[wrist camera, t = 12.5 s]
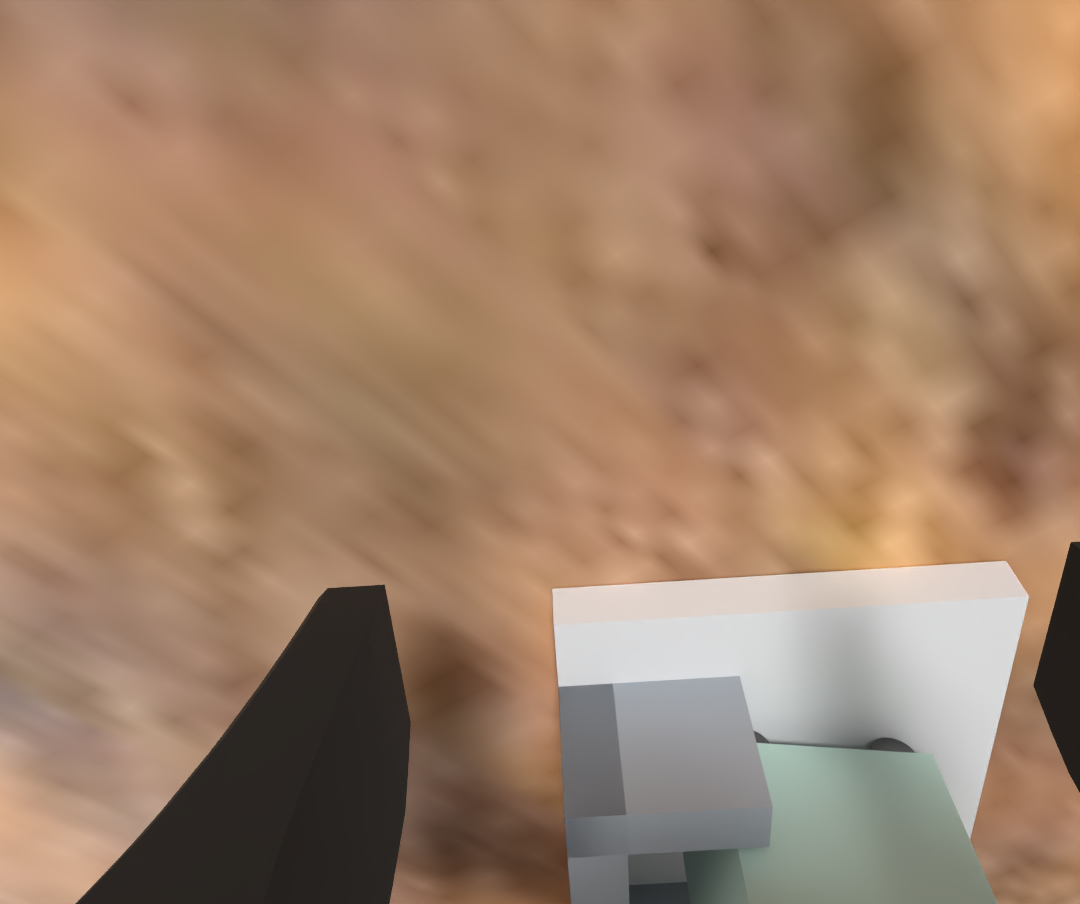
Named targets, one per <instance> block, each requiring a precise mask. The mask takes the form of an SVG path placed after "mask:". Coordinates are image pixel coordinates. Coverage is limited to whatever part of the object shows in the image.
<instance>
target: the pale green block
mask: <svg viewBox="0 0 1080 904" xmlns="http://www.w3.org/2000/svg"><path fill="white" fill-rule="evenodd" d="M754 735H755V739H756V743H757V747H758V751H759V755H760V759H761V762H762V766H763V770H764V774H765V778H766V782H767V786H768V790H769V794H770V798H771V802H772V806H773V809H772V821H771V833H770V845H769V847H757V848H739V849H721V850H703V851H686V852H683V859H684V866H685V872H686V879H687V885H688V892H689V898H690V904H998V903H997V901H996V898H995V896H994V894H993V891H992V889H991V887H990V885H989V882H988V880H987V878H986V875H985V873H984V871H983V869H982V866H981V864H980V862H979V859H978V857H977V855H976V853H975V850H974V848H973V846H972V843H971V841H970V839H969V837H968V834H967V832H966V830H965V827H964V825H963V823H962V821H961V818H960V816H959V814H958V811H957V809H956V807H955V805H954V802H953V800H952V798H951V795H950V793H949V791H948V788H947V786H946V784H945V782H944V779H943V777H942V775H941V772H940V770H939V768H938V766H937V763H936V761H935V759H934V756H933V754H924V753H915V752H914V750H913V749H912V748H911V747H909V746H908V745H907V744H905V743H903V742H901V741H899V740H897V739H893V738H879V739H877V740H875V741H874V742H873V743H872V744H871V747H870V749H869V750H861V749H846V748H830V747H814V746H798V745H783V744H770V743H769V741H768V740H767V739H766V738H765V737H764V736H762V735H761V734H760V733H758V732H756V731H754Z"/></svg>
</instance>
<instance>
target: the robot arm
mask: <svg viewBox="0 0 1080 904" xmlns="http://www.w3.org/2000/svg"><path fill="white" fill-rule="evenodd" d="M1034 688H1035V690H1036V693H1037V696H1038V698H1039V701H1040V703H1041V706H1042V709H1043V711H1044V714H1045V716H1046V719H1047V721H1048V724H1049V727H1050V729H1051V732H1052V734H1053V737H1054V739H1055V741H1056V744H1057V746H1058V748H1059V751H1060V753H1061V755H1062V758H1063V760H1064V762H1065V765H1066V767H1067V769H1068V772H1069V774H1070V776H1071V777H1072V779H1073V781H1074V783H1075V785H1076V787H1077V788H1078V790H1079V792H1080V542H1071V544H1070V547H1069V551H1068V555H1067V559H1066V563H1065V567H1064V570H1063V574H1062V578H1061V582H1060V586H1059V590H1058V593H1057V597H1056V601H1055V605H1054V609H1053V612H1052V616H1051V620H1050V624H1049V628H1048V632H1047V635H1046V639H1045V643H1044V647H1043V651H1042V655H1041V658H1040V662H1039V666H1038V670H1037V674H1036V677H1035V681H1034ZM409 741H410V717H409V712H408V706H407V701H406V696H405V690H404V685H403V680H402V674H401V669H400V664H399V658H398V653H397V648H396V643H395V637H394V632H393V627H392V621H391V616H390V611H389V605H388V600H387V595H386V589H385V585H374V586H357V587H341V588H328V589H327V590H326V591H325V592H324V593H323V594H322V595H321V596H320V597H319V598H318V600H317V601H316V603H315V604H314V606H313V607H312V609H311V611H310V612H309V614H308V615H307V617H306V618H305V620H304V621H303V623H302V624H301V626H300V627H299V629H298V630H297V632H296V633H295V635H294V636H293V638H292V639H291V641H290V642H289V644H288V645H287V647H286V648H285V650H284V651H283V653H282V654H281V656H280V657H279V658H278V660H277V661H276V663H275V664H274V666H273V667H272V668H271V670H270V671H269V673H268V674H267V676H266V677H265V679H264V680H263V681H262V683H261V684H260V686H259V687H258V688H257V690H256V691H255V692H254V694H253V695H252V696H251V698H250V699H249V700H248V702H247V703H246V705H245V706H244V707H243V709H242V710H241V711H240V713H239V714H238V715H237V717H236V718H235V719H234V721H233V722H232V723H231V725H230V726H229V728H228V729H227V730H226V732H225V733H224V734H223V736H222V737H221V738H220V740H219V741H218V742H217V743H216V745H215V746H214V747H213V749H212V750H211V751H210V752H209V754H208V755H207V756H206V757H205V759H204V760H203V761H202V762H201V763H200V765H199V766H198V767H197V768H196V769H195V771H194V772H193V773H192V774H191V776H190V777H189V778H188V779H187V780H186V782H185V783H184V784H183V785H182V787H181V788H180V789H179V790H178V791H177V793H176V794H175V795H174V796H173V797H172V799H171V800H170V801H169V802H168V804H167V805H166V806H165V807H164V808H163V810H162V811H161V812H160V813H159V814H158V815H157V817H156V818H155V819H154V820H153V821H152V822H151V823H150V825H149V826H148V827H147V828H146V829H145V830H144V831H143V832H142V834H141V835H140V836H139V837H138V838H137V839H136V840H135V841H134V843H133V844H132V845H131V846H130V847H129V848H128V849H127V850H126V851H125V852H124V854H123V855H122V856H121V857H120V858H119V859H118V860H117V861H116V862H115V863H114V864H113V865H112V866H111V867H110V868H109V870H108V871H107V872H106V873H105V874H104V875H103V876H102V877H101V878H100V879H99V880H98V881H97V882H96V883H95V884H94V885H93V886H92V887H91V888H90V889H89V890H88V891H87V892H86V894H85V895H84V896H83V897H82V898H81V899H80V900H79V901H78V902H77V903H76V904H389V903H390V897H391V891H392V886H393V880H394V874H395V868H396V863H397V857H398V851H399V845H400V839H401V834H402V828H403V822H404V816H405V807H406V792H407V777H408V760H409Z"/></svg>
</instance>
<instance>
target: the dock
mask: <svg viewBox="0 0 1080 904" xmlns="http://www.w3.org/2000/svg"><path fill="white" fill-rule="evenodd" d="M552 593H553V618H554V634H555V647H556V660H557V673H558V686H559V708H560V731H561V754H562V777H563V801H564V821H565V834H566V846H567V858H568V870H569V883H570V895H571V904H690V898H689V892H688V885H687V879H686V872H685V866H684V859H683V852H686V851H703V850H721V849H739V848H757V847H769V845H770V833H771V821H772V809H773V806H772V802H771V798H770V794H769V790H768V786H767V782H766V778H765V774H764V770H763V766H762V762H761V759H760V755H759V751H758V747H757V743H756V739H755V735H754V731H756V732H758V733H760V734H761V735H762V736H764V737H765V738H766V739H767V740H768V741H769V743H770V744H783V745H798V746H814V747H830V748H846V749H861V750H869V749H870V747H871V744H872V743H873V742H874V741H875V740H877V739H879V738H893V739H897V740H899V741H901V742H903V743H905V744H907V745H908V746H909V747H911V748H912V749H913V750H914V752H915V753H924V754H933V756H934V759H935V761H936V763H937V766H938V768H939V770H940V772H941V775H942V777H943V779H944V782H945V784H946V786H947V788H948V791H949V793H950V795H951V798H952V800H953V802H954V805H955V807H956V809H957V811H958V814H959V816H960V818H961V821H962V823H963V825H964V827H965V830H966V832H967V834H968V837H969V839H970V837H971V833H972V829H973V825H974V821H975V817H976V813H977V809H978V804H979V800H980V796H981V792H982V788H983V784H984V780H985V776H986V772H987V767H988V763H989V759H990V755H991V751H992V747H993V743H994V739H995V734H996V730H997V726H998V722H999V718H1000V714H1001V710H1002V706H1003V702H1004V697H1005V693H1006V689H1007V685H1008V681H1009V677H1010V673H1011V669H1012V664H1013V660H1014V656H1015V652H1016V648H1017V644H1018V640H1019V636H1020V632H1021V627H1022V623H1023V619H1024V615H1025V611H1026V607H1027V603H1028V599H1029V596H1028V594H1027V592H1026V591H1025V589H1024V588H1023V586H1022V585H1021V583H1020V582H1019V580H1018V579H1017V577H1016V575H1015V574H1014V572H1013V571H1012V569H1011V568H1010V566H1009V565H1008V563H1007V562H1006V561H997V562H980V563H964V564H948V565H932V566H915V567H899V568H883V569H867V570H850V571H834V572H818V573H802V574H785V575H769V576H753V577H737V578H720V579H704V580H688V581H672V582H656V583H639V584H623V585H607V586H591V587H574V588H558V589H552Z"/></svg>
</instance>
